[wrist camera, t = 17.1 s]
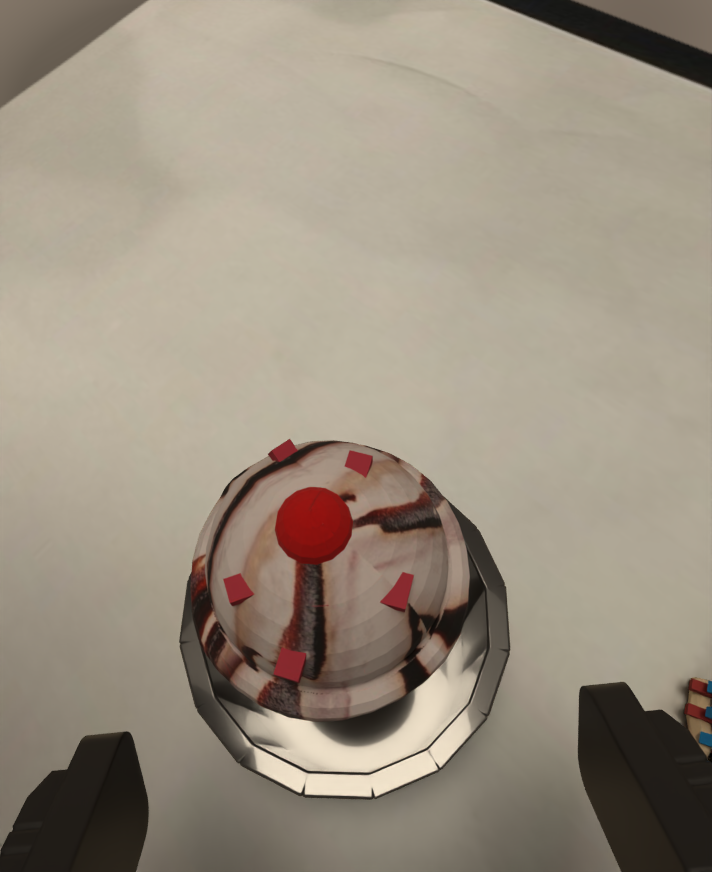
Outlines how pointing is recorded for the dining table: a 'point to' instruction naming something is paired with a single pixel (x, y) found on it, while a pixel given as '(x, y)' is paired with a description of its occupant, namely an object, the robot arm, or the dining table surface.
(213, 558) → the ice cream cone
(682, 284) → the dining table surface
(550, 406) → the dining table surface
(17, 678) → the dining table surface
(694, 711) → the woven mat
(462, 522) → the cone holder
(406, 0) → the dining table surface
